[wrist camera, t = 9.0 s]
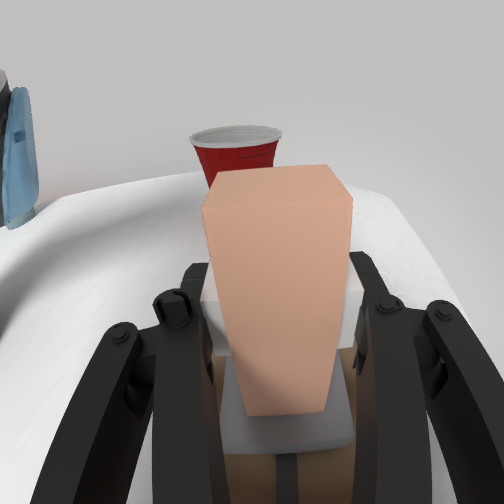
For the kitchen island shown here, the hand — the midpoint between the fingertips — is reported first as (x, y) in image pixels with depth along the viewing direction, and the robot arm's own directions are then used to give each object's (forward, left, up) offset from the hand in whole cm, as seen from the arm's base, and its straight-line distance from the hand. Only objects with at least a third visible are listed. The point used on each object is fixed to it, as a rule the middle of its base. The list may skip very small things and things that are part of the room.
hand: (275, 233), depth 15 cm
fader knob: (+4, -3, -7) cm, 9 cm away
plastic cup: (-19, +10, -10) cm, 23 cm away
